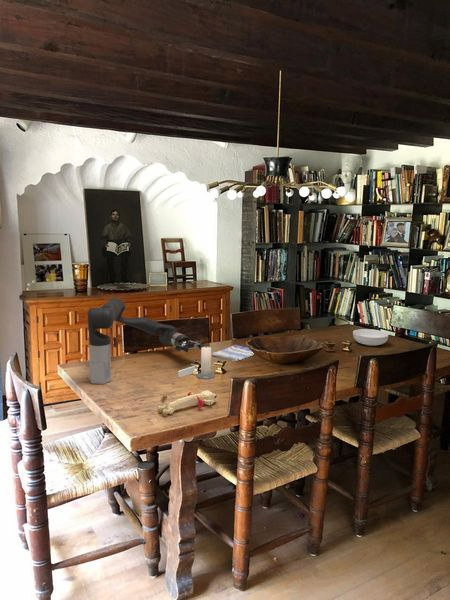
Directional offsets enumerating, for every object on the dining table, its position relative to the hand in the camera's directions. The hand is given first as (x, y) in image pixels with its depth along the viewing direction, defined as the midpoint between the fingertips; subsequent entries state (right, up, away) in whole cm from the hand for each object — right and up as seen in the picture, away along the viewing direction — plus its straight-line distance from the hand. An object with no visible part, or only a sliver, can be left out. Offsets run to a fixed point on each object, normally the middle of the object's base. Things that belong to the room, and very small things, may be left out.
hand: (195, 349), depth 237 cm
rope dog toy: (0, -19, -45) cm, 49 cm away
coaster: (+5, -12, -8) cm, 15 cm away
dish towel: (+20, -7, +30) cm, 37 cm away
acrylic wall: (-1, -11, -3) cm, 11 cm away
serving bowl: (+102, -3, +60) cm, 119 cm away
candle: (+5, -11, -8) cm, 15 cm away
